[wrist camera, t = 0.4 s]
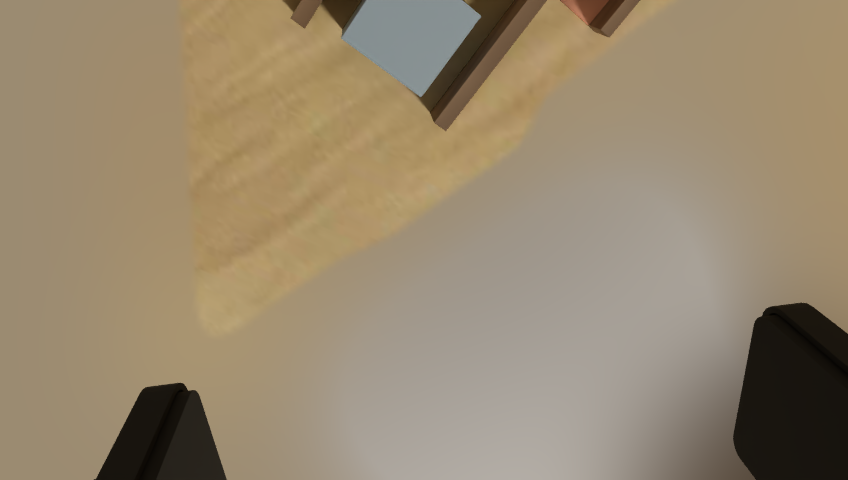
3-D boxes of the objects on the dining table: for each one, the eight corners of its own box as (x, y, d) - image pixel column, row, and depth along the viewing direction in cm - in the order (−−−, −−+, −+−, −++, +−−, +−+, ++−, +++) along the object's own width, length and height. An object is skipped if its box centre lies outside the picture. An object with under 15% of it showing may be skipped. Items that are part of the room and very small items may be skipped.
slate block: (342, 29, 39) (341, 38, 35) (396, -53, 37) (400, -52, 33) (415, 83, 41) (421, 97, 37) (470, 9, 39) (481, 16, 35)
